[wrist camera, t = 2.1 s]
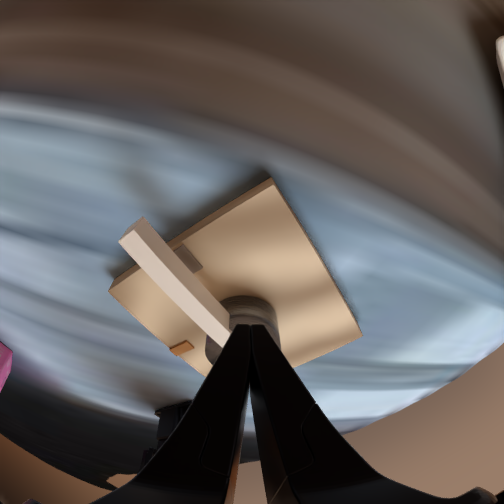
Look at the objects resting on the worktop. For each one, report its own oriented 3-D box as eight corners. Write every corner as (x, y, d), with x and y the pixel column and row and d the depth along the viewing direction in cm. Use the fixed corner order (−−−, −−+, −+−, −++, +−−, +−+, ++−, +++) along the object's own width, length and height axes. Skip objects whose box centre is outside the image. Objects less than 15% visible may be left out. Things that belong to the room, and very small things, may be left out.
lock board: (357, 323, 24) (363, 337, 23) (226, 380, 28) (225, 394, 26) (271, 177, 17) (274, 185, 16) (114, 279, 21) (106, 292, 20)
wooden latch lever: (289, 327, 22) (295, 361, 19) (234, 352, 23) (233, 385, 20) (176, 186, 16) (161, 208, 13) (117, 231, 17) (96, 259, 14)
